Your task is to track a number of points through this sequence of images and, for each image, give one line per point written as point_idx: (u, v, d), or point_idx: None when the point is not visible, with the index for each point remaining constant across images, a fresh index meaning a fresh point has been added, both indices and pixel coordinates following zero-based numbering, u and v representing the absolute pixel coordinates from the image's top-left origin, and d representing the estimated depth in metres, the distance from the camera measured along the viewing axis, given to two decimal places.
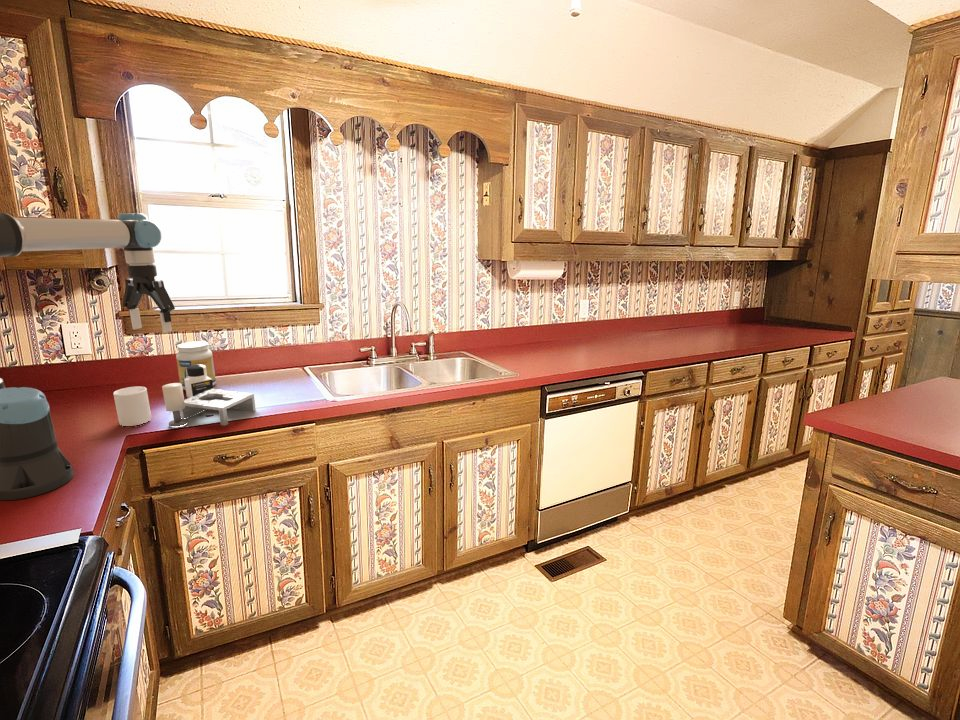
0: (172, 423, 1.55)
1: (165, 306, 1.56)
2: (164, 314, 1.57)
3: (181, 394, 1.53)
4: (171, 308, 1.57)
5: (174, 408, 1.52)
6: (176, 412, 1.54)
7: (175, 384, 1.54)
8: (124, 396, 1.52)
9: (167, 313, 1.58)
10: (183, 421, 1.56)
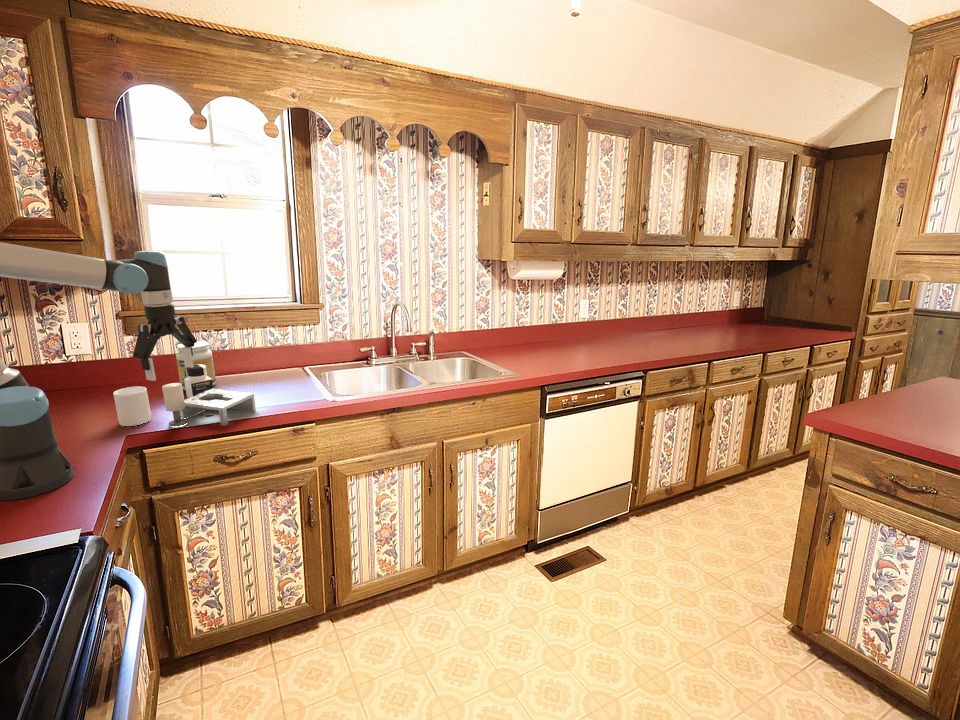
0: (172, 423, 1.55)
1: None
2: None
3: (181, 394, 1.53)
4: (136, 357, 1.41)
5: (174, 408, 1.52)
6: (176, 412, 1.54)
7: (175, 384, 1.54)
8: (124, 396, 1.52)
9: (142, 361, 1.43)
10: (183, 421, 1.56)
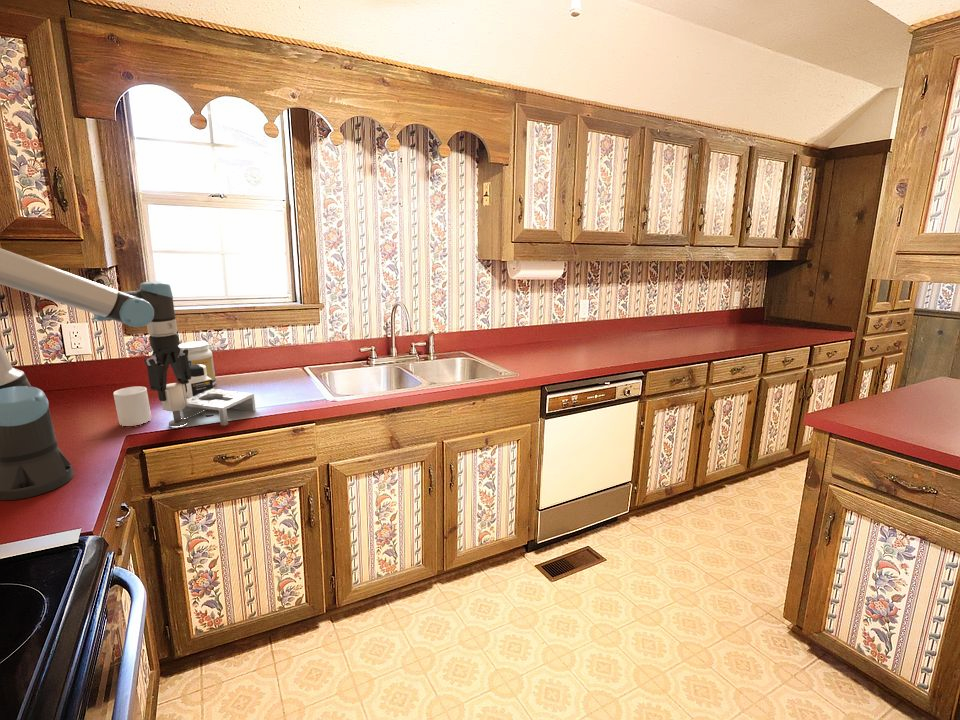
0: (172, 423, 1.55)
1: None
2: None
3: (181, 394, 1.54)
4: (154, 389, 1.47)
5: (174, 408, 1.52)
6: (176, 412, 1.54)
7: (175, 384, 1.54)
8: (124, 396, 1.52)
9: (159, 392, 1.49)
10: (183, 421, 1.56)
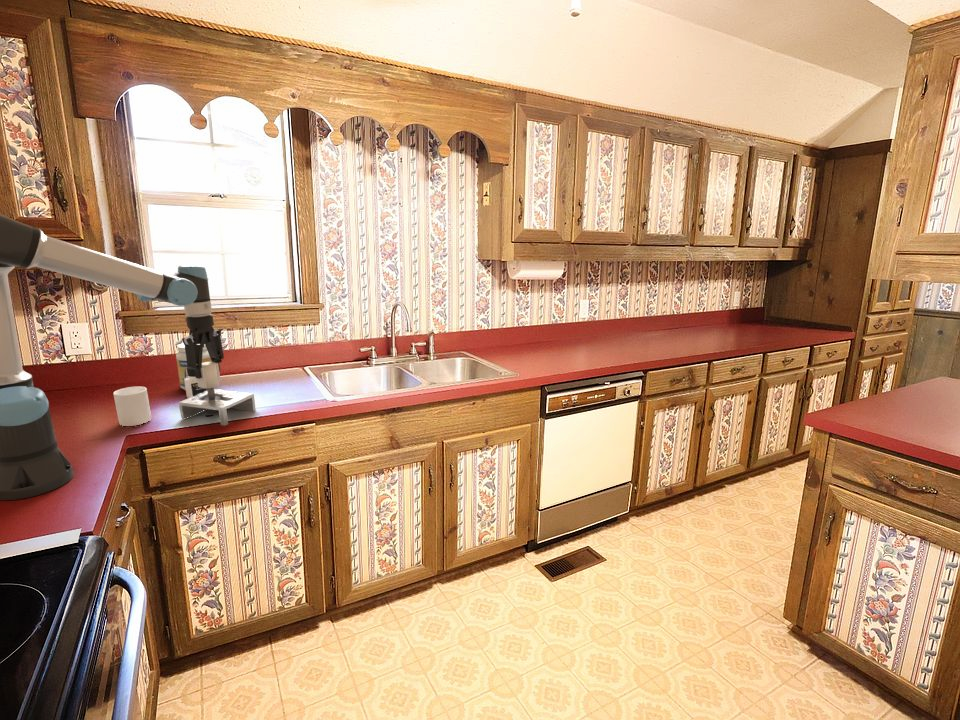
0: (207, 400, 1.63)
1: None
2: None
3: (215, 372, 1.62)
4: (191, 367, 1.55)
5: (209, 385, 1.61)
6: (210, 389, 1.63)
7: (209, 363, 1.62)
8: (124, 396, 1.52)
9: (195, 370, 1.57)
10: (217, 398, 1.65)
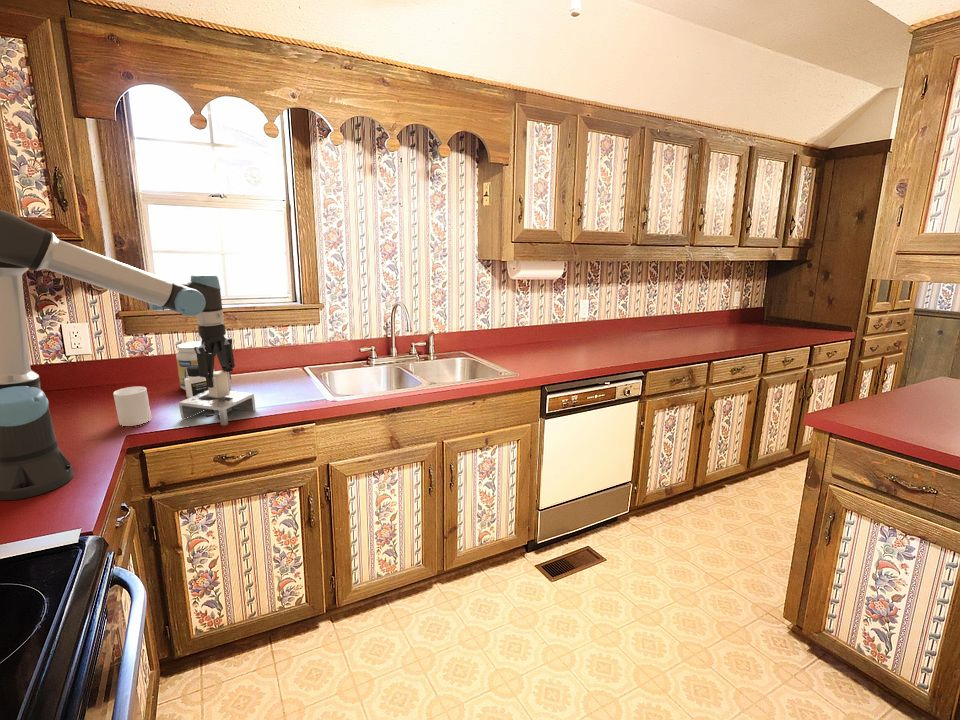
0: None
1: None
2: None
3: (226, 381, 1.61)
4: (202, 376, 1.55)
5: (220, 394, 1.60)
6: (221, 398, 1.62)
7: (220, 372, 1.61)
8: (124, 396, 1.52)
9: (206, 379, 1.57)
10: None
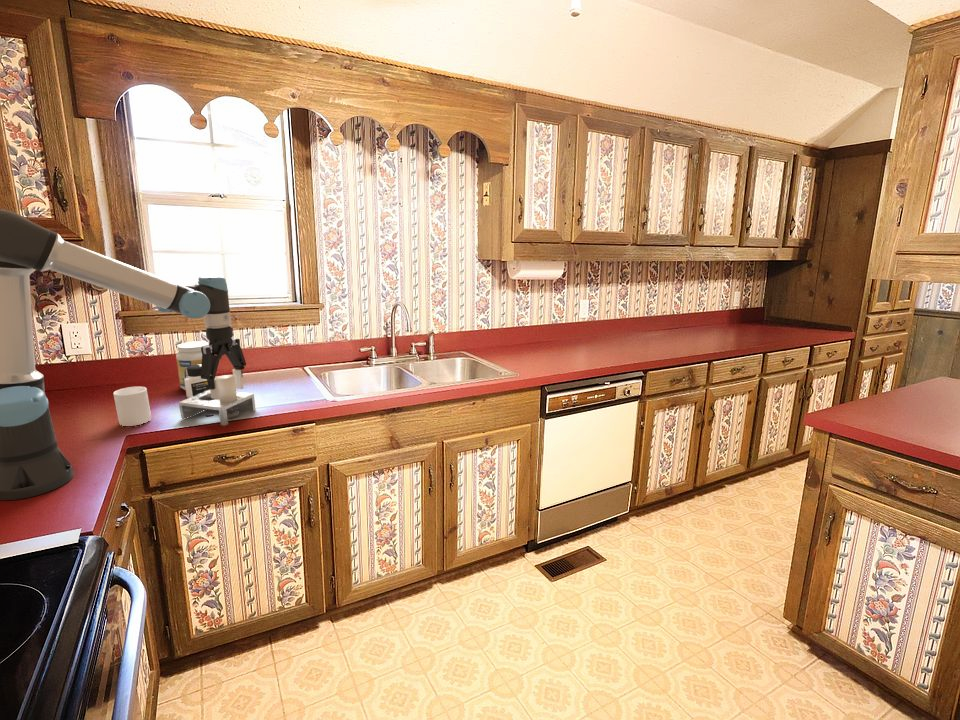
0: None
1: None
2: None
3: (234, 385, 1.61)
4: (204, 378, 1.52)
5: (227, 399, 1.60)
6: None
7: (228, 376, 1.61)
8: (124, 396, 1.52)
9: (208, 381, 1.54)
10: (235, 411, 1.64)
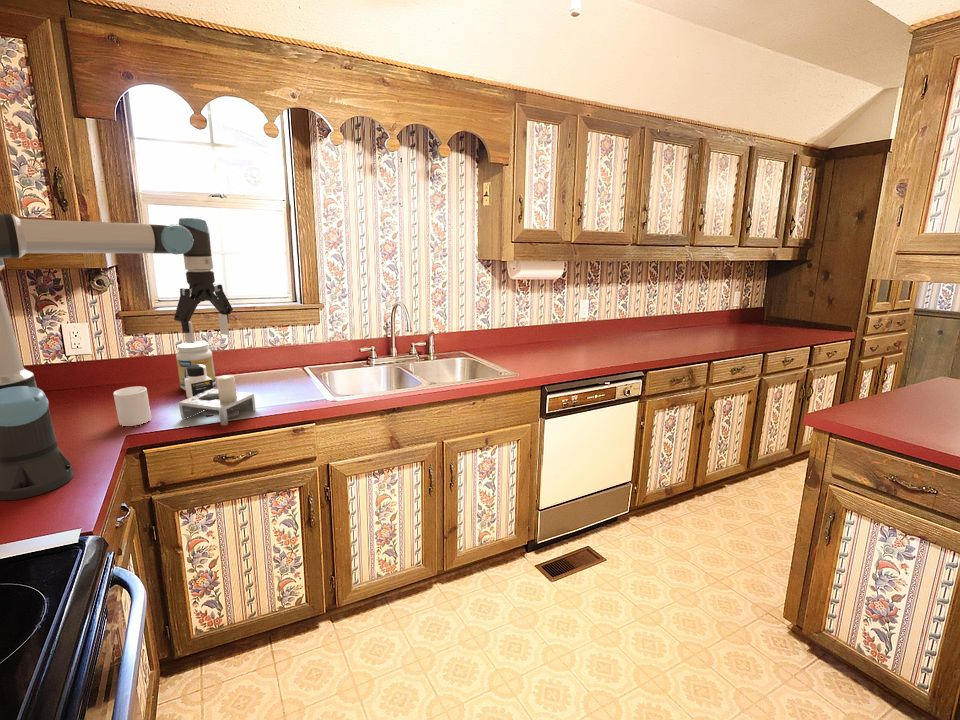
0: None
1: None
2: None
3: (234, 385, 1.61)
4: (177, 319, 1.46)
5: (227, 399, 1.60)
6: None
7: (228, 376, 1.61)
8: (124, 396, 1.52)
9: (182, 323, 1.48)
10: (235, 411, 1.64)
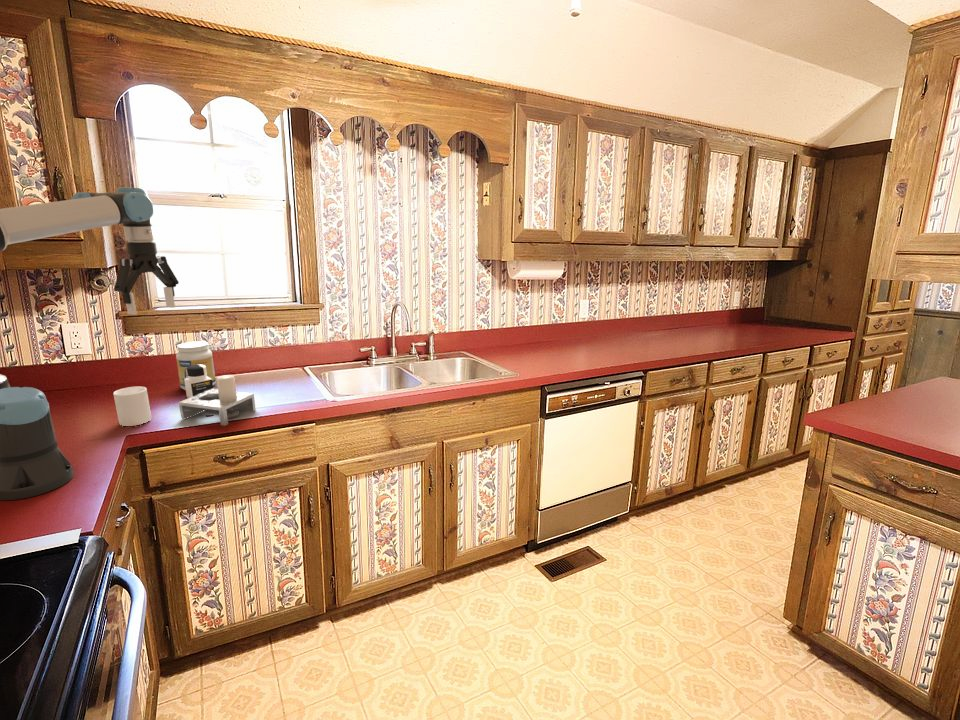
0: None
1: None
2: None
3: (234, 385, 1.61)
4: (117, 289, 1.45)
5: (227, 399, 1.60)
6: None
7: (228, 376, 1.61)
8: (124, 396, 1.52)
9: (123, 294, 1.47)
10: (235, 411, 1.64)
